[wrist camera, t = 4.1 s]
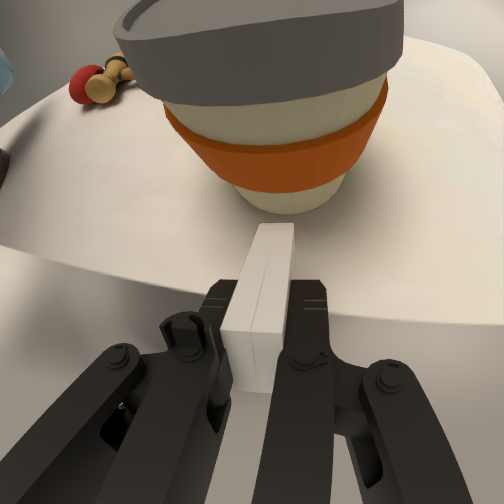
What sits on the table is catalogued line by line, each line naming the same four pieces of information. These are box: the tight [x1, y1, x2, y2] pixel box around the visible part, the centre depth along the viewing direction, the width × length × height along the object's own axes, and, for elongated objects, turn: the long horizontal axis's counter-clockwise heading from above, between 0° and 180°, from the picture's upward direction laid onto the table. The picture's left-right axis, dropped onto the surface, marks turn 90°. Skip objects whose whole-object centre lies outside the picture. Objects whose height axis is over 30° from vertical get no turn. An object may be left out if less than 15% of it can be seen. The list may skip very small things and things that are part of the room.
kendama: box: [69, 52, 135, 105], centre depth 27 cm, size 8×6×18 cm
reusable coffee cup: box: [113, 0, 404, 215], centre depth 14 cm, size 13×13×15 cm
